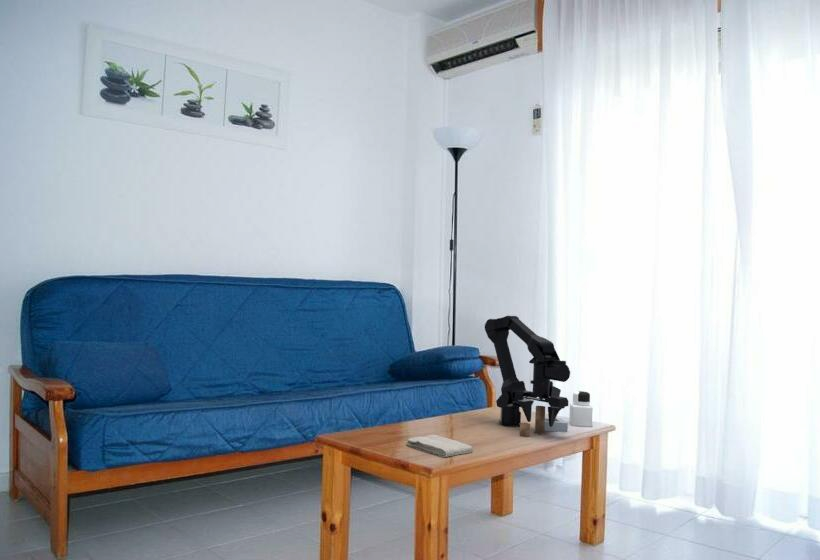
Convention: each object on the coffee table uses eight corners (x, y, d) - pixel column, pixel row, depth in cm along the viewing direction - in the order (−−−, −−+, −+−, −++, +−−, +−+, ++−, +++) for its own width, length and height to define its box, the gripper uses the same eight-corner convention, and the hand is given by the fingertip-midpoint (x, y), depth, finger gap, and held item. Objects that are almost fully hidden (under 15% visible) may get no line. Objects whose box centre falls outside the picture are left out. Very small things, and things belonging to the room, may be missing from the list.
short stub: (520, 436, 211) (521, 424, 211) (519, 434, 215) (519, 422, 215) (530, 437, 211) (531, 424, 212) (528, 435, 215) (529, 422, 215)
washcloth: (432, 441, 201) (432, 431, 201) (474, 454, 187) (475, 443, 187) (403, 446, 193) (403, 436, 193) (445, 459, 179) (446, 448, 179)
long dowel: (535, 434, 216) (536, 407, 217) (533, 432, 220) (534, 405, 220) (545, 434, 217) (546, 407, 217) (543, 432, 220) (544, 405, 220)
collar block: (541, 430, 222) (541, 422, 222) (535, 425, 231) (536, 417, 231) (567, 431, 222) (567, 423, 222) (560, 426, 231) (561, 418, 231)
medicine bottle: (588, 423, 240) (589, 390, 240) (592, 427, 233) (593, 393, 233) (569, 422, 240) (570, 389, 241) (572, 425, 233) (573, 392, 234)
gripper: (578, 380, 217) (577, 426, 216) (534, 373, 231) (532, 417, 231) (558, 382, 209) (557, 430, 209) (514, 375, 224) (512, 420, 223)
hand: (539, 424), depth 218 cm, fingers open, 9 cm apart
